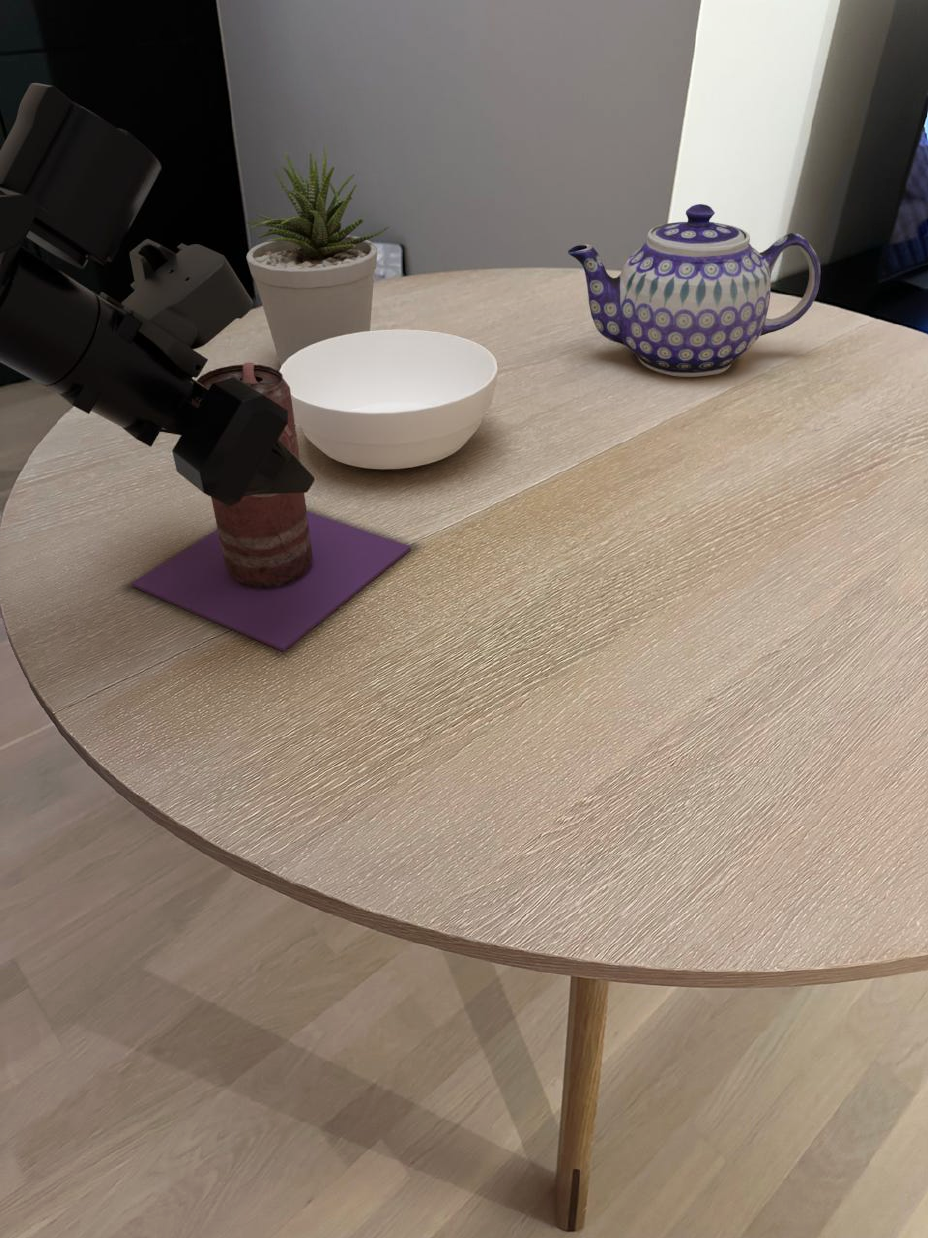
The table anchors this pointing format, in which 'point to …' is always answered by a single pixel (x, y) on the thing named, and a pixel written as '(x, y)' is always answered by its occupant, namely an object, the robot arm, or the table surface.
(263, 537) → the can
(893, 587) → the table surface
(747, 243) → the teapot
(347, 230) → the potted plant
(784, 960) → the table surface
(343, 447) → the bowl
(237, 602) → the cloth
